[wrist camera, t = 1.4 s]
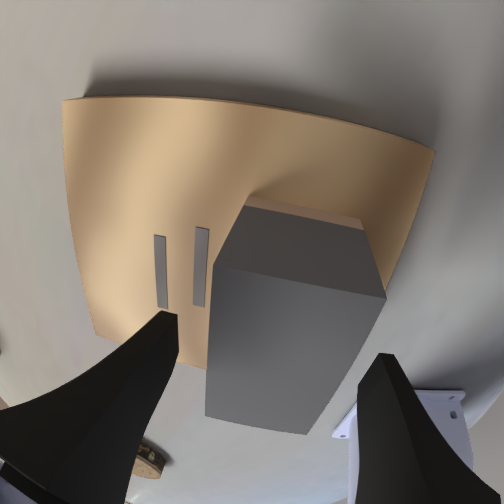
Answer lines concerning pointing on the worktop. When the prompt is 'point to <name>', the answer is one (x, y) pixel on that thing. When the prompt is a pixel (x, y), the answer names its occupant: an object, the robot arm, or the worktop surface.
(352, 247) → the block
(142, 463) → the wood log slice
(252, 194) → the oak board
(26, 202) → the worktop surface
